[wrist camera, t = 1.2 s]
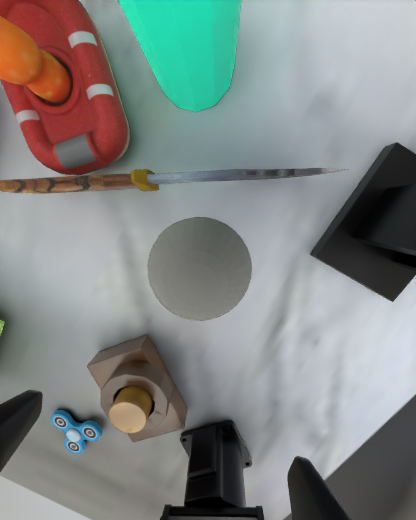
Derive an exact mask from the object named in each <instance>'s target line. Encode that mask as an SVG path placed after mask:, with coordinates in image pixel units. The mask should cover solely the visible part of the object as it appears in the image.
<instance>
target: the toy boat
mask: <svg viewBox="0 0 416 520" xmlns="http://www.w3.org/2000/svg"><path fill="white" fill-rule="evenodd" d="M0 80H1V82H2V85H3V87H4V89H5V92H6V94H7V97H8V99H9V101H10V104H11V106H12V108H13V111H14V113H15V116H16V119H17V121H18V123H19V126H20V128H21V130H22V132H23V135H24V137H25V139H26V142H27V144H28V147H29V149H30V151H31V152H32V154H33V155H34V156H35V157H36V158H37V160H38V161H40V162H41V163H42V164H43V165H45V166H46V167H48V168H50V169H52V170H54V171H56V172H58V173H61V174H66V175H82V174H85V173H88V172H91V171H95V170H98V169H101V168H104V167H106V166H108V165H110V164H111V163H113V162H115V161H117V160H118V159H120V158H121V157H122V156H123V155H124V153H125V152H126V150H127V148H128V145H129V140H130V129H129V124H128V121H127V118H126V115H125V112H124V108H123V105H122V102H121V98H120V95H119V92H118V89H117V86H116V82H115V79H114V76H113V73H112V69H111V66H110V63H109V60H108V57H107V53H106V50H105V47H104V45H103V42H102V39H101V37H100V35H99V33H98V31H97V28H96V26H95V25H94V23H93V21H92V19H91V18H90V16H89V15H88V13H87V12H86V10H85V8H84V7H83V5H82V4H81V3H80V1H79V0H0Z"/></svg>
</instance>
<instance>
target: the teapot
mask: <svg viewBox="0 0 416 520" xmlns="http://www.w3.org/2000/svg"><path fill="white" fill-rule="evenodd" d="M4 323H5V322H4V321H2V320H0V335H1V332H2V329H3V326H4Z"/></svg>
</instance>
